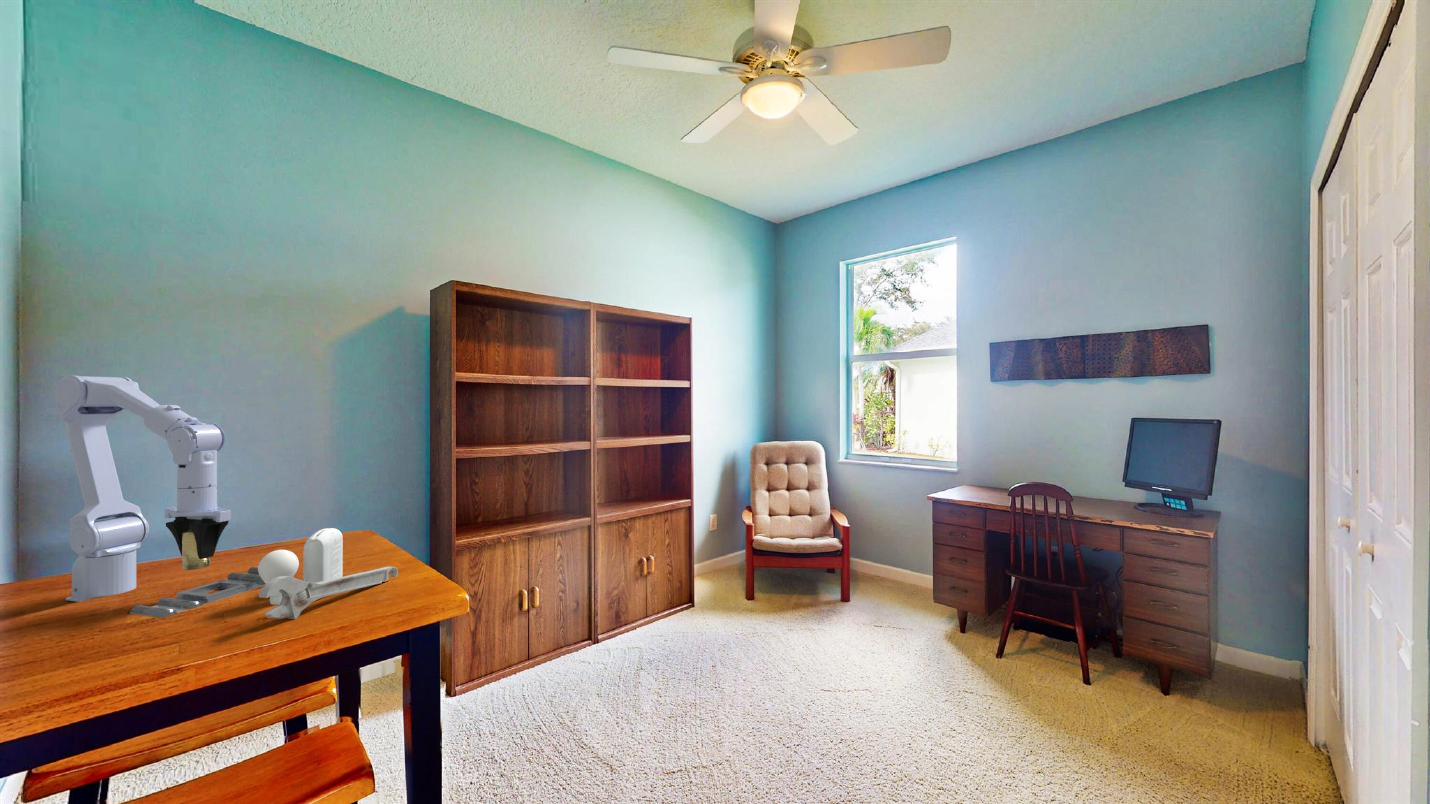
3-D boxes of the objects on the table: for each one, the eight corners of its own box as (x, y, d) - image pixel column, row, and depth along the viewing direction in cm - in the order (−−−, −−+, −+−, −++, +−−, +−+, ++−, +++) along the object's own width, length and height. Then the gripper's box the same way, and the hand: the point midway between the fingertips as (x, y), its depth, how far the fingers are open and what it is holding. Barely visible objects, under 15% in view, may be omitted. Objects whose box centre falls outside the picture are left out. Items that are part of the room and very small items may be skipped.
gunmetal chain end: (175, 605, 108) (175, 588, 108) (258, 580, 123) (257, 565, 123) (208, 609, 106) (208, 592, 106) (288, 584, 121) (288, 568, 121)
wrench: (396, 591, 125) (262, 629, 96) (389, 591, 125) (254, 628, 96) (400, 554, 126) (268, 580, 97) (393, 554, 126) (259, 580, 97)
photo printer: (323, 581, 122) (323, 524, 122) (345, 580, 123) (345, 523, 123) (299, 597, 112) (299, 535, 112) (323, 596, 113) (324, 534, 113)
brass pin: (177, 568, 108) (176, 532, 108) (201, 563, 111) (201, 527, 111) (191, 570, 106) (190, 533, 106) (215, 565, 110) (215, 529, 110)
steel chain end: (128, 619, 101) (128, 607, 101) (221, 591, 116) (221, 581, 116) (162, 624, 99) (162, 612, 99) (253, 595, 114) (253, 584, 114)
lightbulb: (255, 608, 107) (255, 550, 107) (294, 600, 111) (295, 544, 111) (261, 617, 102) (261, 556, 102) (302, 608, 107) (302, 550, 107)
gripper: (145, 488, 107) (145, 559, 107) (201, 491, 103) (201, 565, 103) (188, 482, 114) (188, 550, 114) (242, 485, 110) (242, 555, 110)
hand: (197, 556), depth 109 cm, fingers closed on brass pin, 4 cm apart
